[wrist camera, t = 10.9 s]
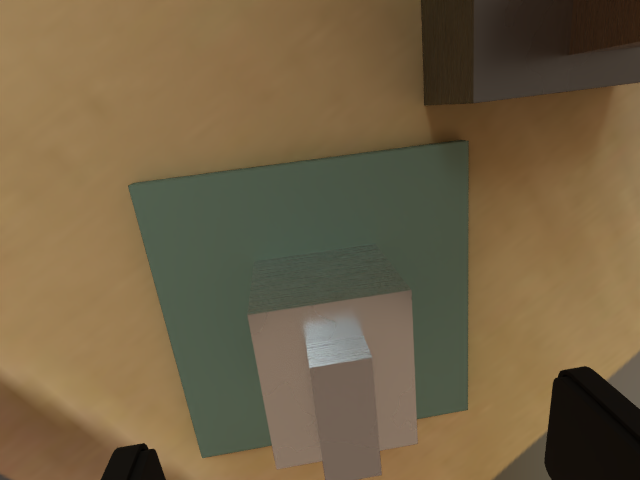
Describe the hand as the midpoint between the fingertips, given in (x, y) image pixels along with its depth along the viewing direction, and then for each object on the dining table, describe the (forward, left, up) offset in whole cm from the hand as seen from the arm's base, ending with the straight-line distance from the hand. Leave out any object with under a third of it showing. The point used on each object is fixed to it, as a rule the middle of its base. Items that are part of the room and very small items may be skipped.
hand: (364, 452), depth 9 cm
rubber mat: (+1, 0, -9) cm, 9 cm away
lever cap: (+1, 0, -8) cm, 8 cm away
